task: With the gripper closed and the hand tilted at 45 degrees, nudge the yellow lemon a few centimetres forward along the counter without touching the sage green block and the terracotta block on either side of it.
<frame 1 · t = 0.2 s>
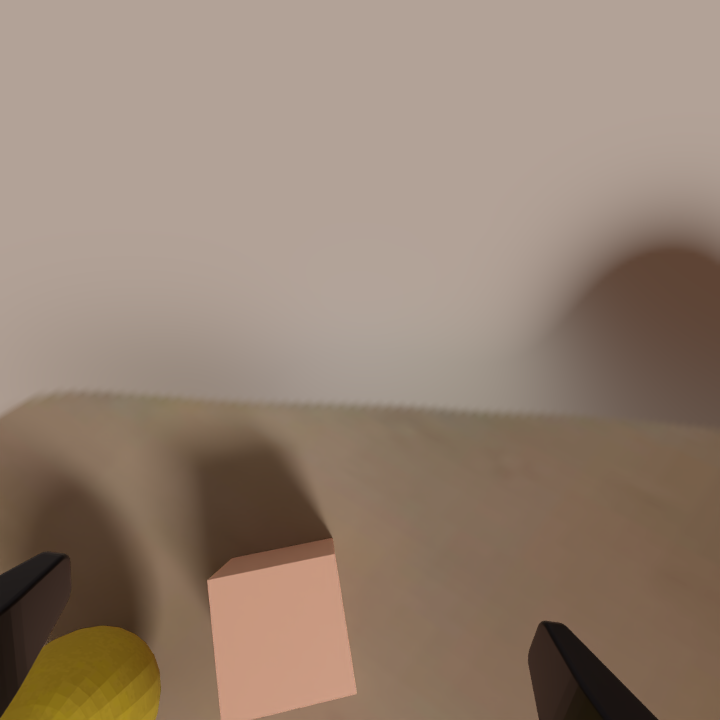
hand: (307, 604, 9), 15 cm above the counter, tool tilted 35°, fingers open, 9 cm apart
terracotta block: (290, 601, 23), on the counter
lemon: (123, 668, 21), on the counter
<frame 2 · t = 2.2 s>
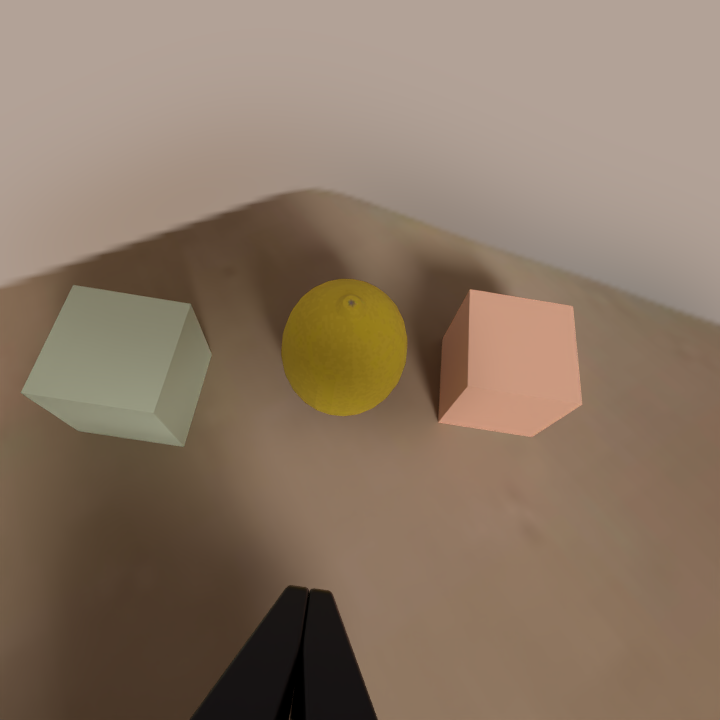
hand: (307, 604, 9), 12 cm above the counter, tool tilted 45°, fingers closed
terracotta block: (484, 386, 25), on the counter
lemon: (338, 386, 24), on the counter
sage block: (148, 391, 23), on the counter
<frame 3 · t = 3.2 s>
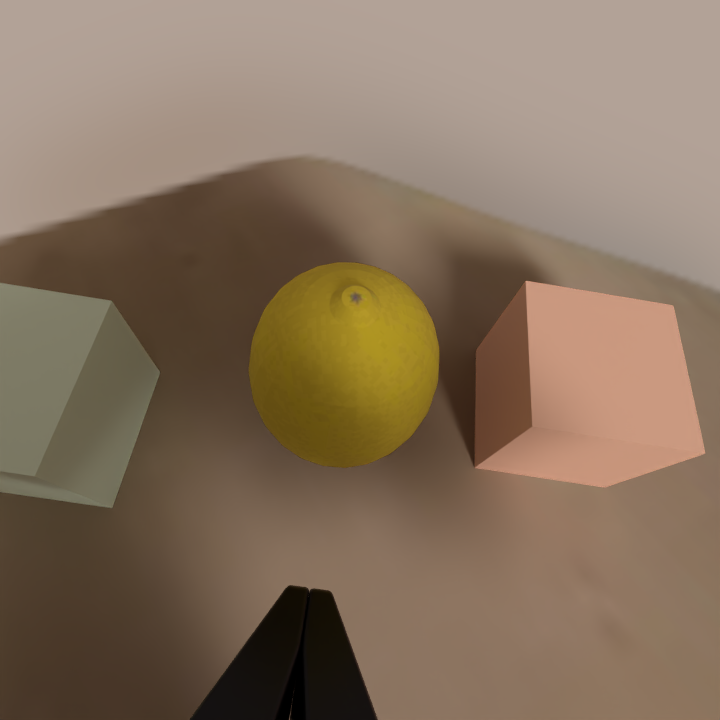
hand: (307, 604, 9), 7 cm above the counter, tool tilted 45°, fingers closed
terracotta block: (535, 415, 19), on the counter
lemon: (335, 417, 18), on the counter
sage block: (67, 425, 16), on the counter
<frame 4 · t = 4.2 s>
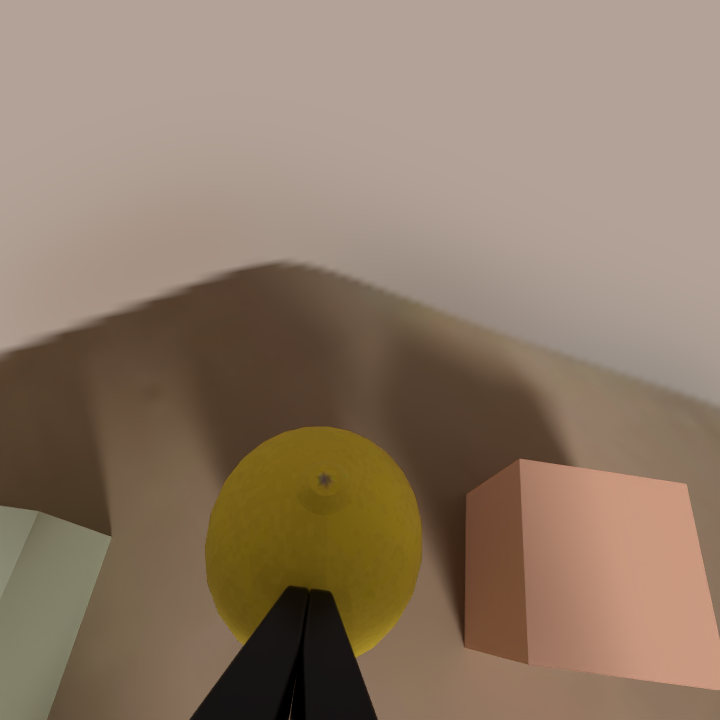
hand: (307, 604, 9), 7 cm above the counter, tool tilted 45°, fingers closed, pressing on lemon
terracotta block: (532, 575, 17), on the counter
lemon: (308, 585, 16), on the counter, touching gripper
sage block: (2, 610, 14), on the counter
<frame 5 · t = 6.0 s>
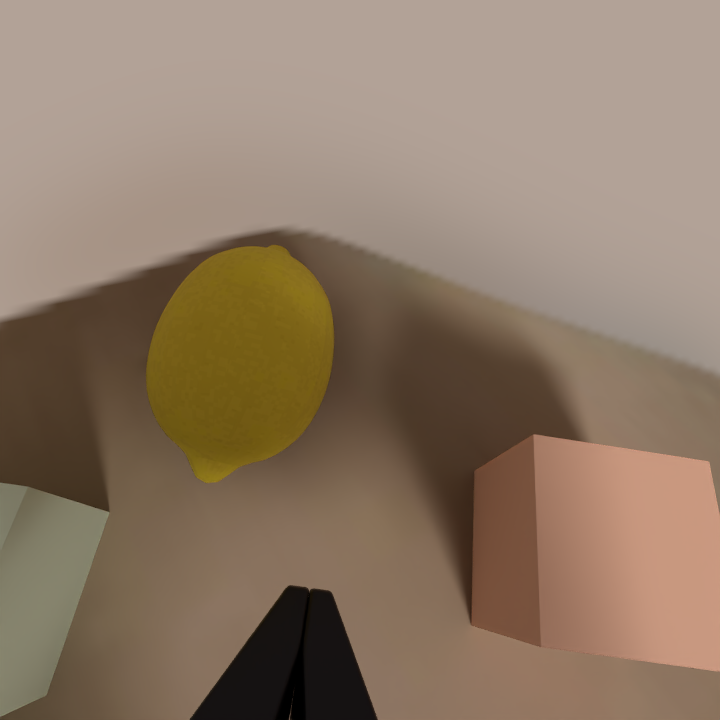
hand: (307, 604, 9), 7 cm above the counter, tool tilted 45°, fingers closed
terracotta block: (542, 553, 16), on the counter
lemon: (203, 489, 14), point 2 cm above the counter
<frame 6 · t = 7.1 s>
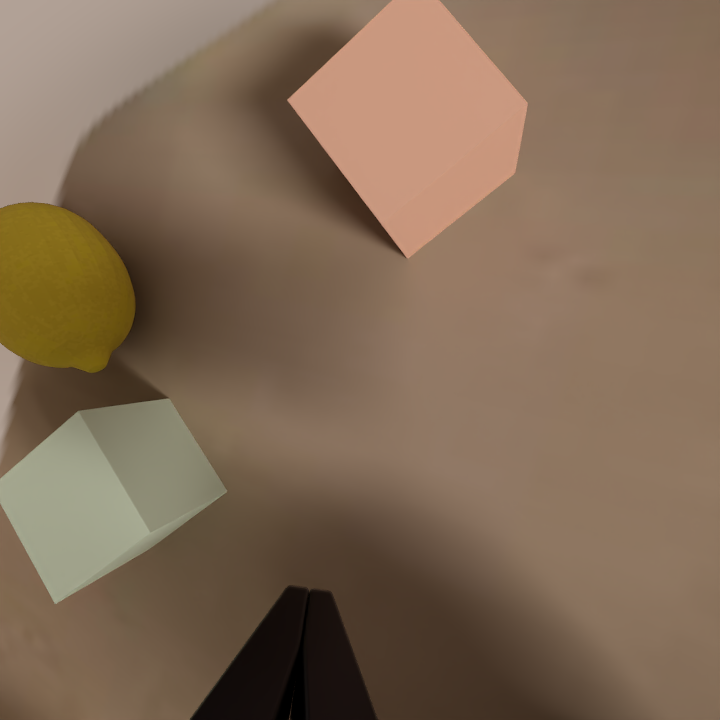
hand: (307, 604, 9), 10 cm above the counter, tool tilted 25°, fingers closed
terracotta block: (421, 169, 18), on the counter
lemon: (100, 375, 19), point 3 cm above the counter
sage block: (160, 473, 21), on the counter
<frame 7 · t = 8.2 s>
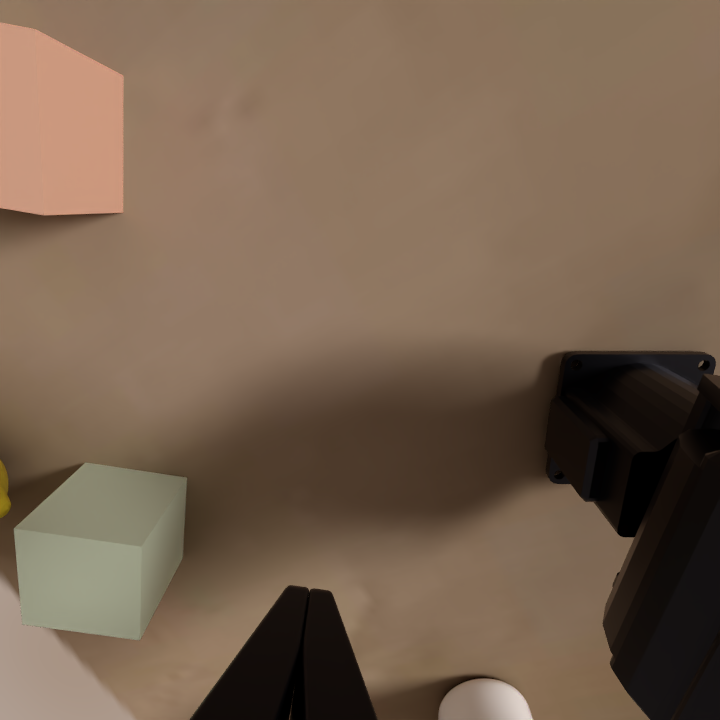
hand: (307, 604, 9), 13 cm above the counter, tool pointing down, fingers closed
terracotta block: (60, 136, 18), on the counter
lemon: (12, 510, 21), point 3 cm above the counter
drinking glass: (480, 701, 28), on the counter
sage block: (136, 510, 24), on the counter
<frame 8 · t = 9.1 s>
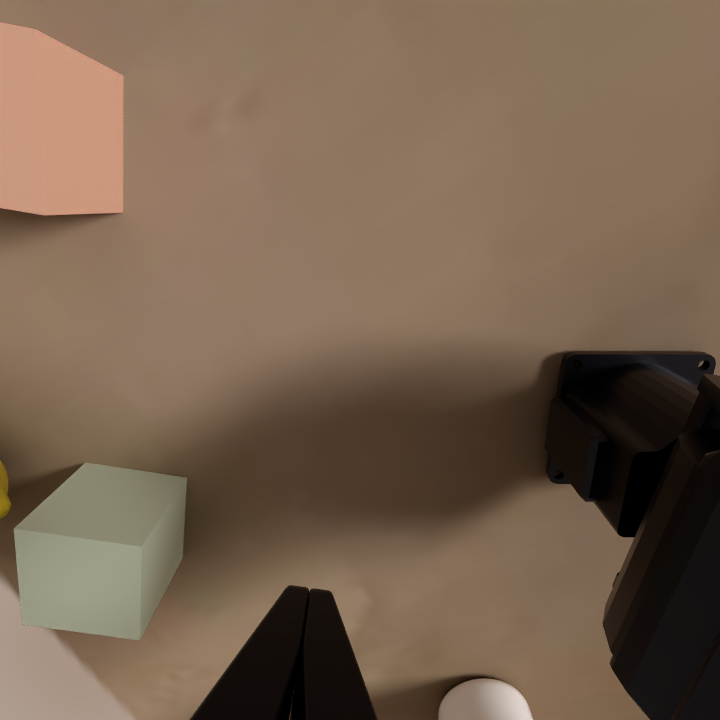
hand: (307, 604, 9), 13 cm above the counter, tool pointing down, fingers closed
terracotta block: (60, 136, 18), on the counter
lemon: (12, 510, 21), point 3 cm above the counter
drinking glass: (480, 701, 28), on the counter
sage block: (136, 511, 24), on the counter
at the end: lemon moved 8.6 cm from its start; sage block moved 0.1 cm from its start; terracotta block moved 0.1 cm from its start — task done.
